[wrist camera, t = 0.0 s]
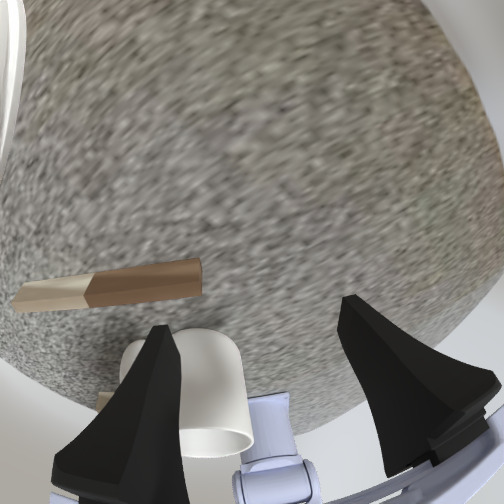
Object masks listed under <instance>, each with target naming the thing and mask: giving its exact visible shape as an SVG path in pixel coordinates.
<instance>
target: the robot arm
mask: <svg viewBox="0 0 504 504" xmlns="http://www.w3.org/2000/svg"><path fill="white" fill-rule="evenodd" d="M337 332H338V335H339V338H340V341H341V344H342V347H343V350H344V352H345V354H346V356H347V358H348V360H349V362H350V364H351V366H352V368H353V370H354V372H355V374H356V376H357V378H358V380H359V382H360V384H361V386H362V388H363V391H364V393H365V395H366V398H367V401H368V404H369V407H370V409H371V413H372V416H373V419H374V423H375V426H376V430H377V434H378V438H379V441H380V446H381V451H382V457H383V463H384V470H385V473H386V476H387V478H390V477H392V476H394V475H397V474H399V473H401V472H403V471H405V470H407V469H409V468H411V467H413V469H411V470H409V471H407V472H405V473H403V474H401V475H399V476H397V477H395V478H393V479H390V480H388V481H386V482H384V483H381V484H379V485H377V486H374V487H372V488H369V489H367V490H364V491H361V492H359V493H356V494H353V495H350V496H347V497H344V498H341V499H338V500H335V501H331V502H328V503H325V504H369V503H371V502H374V501H376V500H378V499H381V498H383V497H386V496H388V495H390V494H392V493H394V492H396V491H398V490H400V489H403V490H402V493H401V494H400V495H399V496H396V497H393V498H391V499H389V500H386V501H384V502H382V503H379V504H465V503H466V502H467V501H468V500H469V499H470V498H471V497H472V496H473V495H474V494H476V493H477V492H478V491H479V490H480V489H481V488H482V487H483V486H484V485H485V483H487V482H488V481H489V479H490V478H491V477H492V476H493V475H494V474H495V473H496V472H497V471H498V470H499V468H500V467H501V466H502V465H503V464H504V404H503V405H502V406H501V407H500V408H499V409H498V410H497V411H496V412H494V413H493V414H492V415H491V416H489V417H488V418H487V419H486V420H485V418H484V415H485V414H486V411H485V409H484V406H485V405H486V404H487V403H488V402H489V401H490V400H491V399H492V398H493V397H494V396H495V395H496V394H497V393H498V392H499V390H500V389H501V386H502V385H501V383H500V382H499V380H498V379H497V377H496V376H495V374H494V373H493V371H491V370H487V369H482V368H479V367H475V366H471V365H469V364H466V363H463V362H460V361H458V360H455V359H453V358H451V357H448V356H446V355H444V354H442V353H440V352H438V351H436V350H434V349H432V348H430V347H428V346H427V345H425V344H423V343H421V342H420V341H418V340H416V339H415V338H413V337H412V336H410V335H409V334H407V333H406V332H404V331H403V330H401V329H400V328H399V327H397V326H396V325H394V324H393V323H392V322H390V321H389V320H388V319H387V318H385V317H384V316H383V315H381V314H380V313H379V312H378V311H376V310H375V309H374V308H372V307H371V306H370V305H369V304H367V303H366V302H365V301H364V300H362V299H361V298H360V297H358V296H357V295H356V294H355V295H350V296H346V297H343V298H342V304H341V310H340V316H339V322H338V327H337ZM181 381H182V373H181V355H180V353H179V351H178V348H177V346H176V344H175V341H174V339H173V337H172V334H171V332H170V329H169V327H168V325H158V326H153V327H152V329H151V331H150V333H149V335H148V336H147V338H146V340H145V342H144V344H143V346H142V348H141V350H140V352H139V353H138V355H137V357H136V359H135V361H134V362H133V364H132V366H131V368H130V369H129V371H128V373H127V374H126V376H125V377H124V379H123V381H122V382H121V384H120V386H119V387H118V389H117V390H116V391H115V393H114V394H113V396H112V397H111V399H110V400H109V401H108V403H107V404H106V405H105V406H104V408H103V409H102V410H101V411H100V413H99V414H98V415H97V416H96V417H95V419H94V420H93V421H92V422H91V423H90V424H89V425H88V426H87V427H86V428H85V429H84V430H83V431H82V432H81V433H80V434H79V435H78V436H77V437H76V438H75V439H74V440H73V441H72V442H70V443H69V444H68V445H67V446H65V447H64V448H63V449H62V450H60V451H59V452H58V453H57V454H55V457H54V463H53V469H52V477H51V482H52V484H53V485H55V486H56V487H58V488H61V489H63V490H65V491H68V492H70V493H72V494H75V495H78V496H79V501H77V500H74V499H71V498H68V497H65V496H62V495H59V494H56V493H54V492H51V493H50V504H190V502H189V498H188V493H187V489H186V484H185V478H184V472H183V465H182V457H181V448H180V437H179V414H180V397H181ZM247 400H248V406H249V412H250V418H251V424H252V430H253V436H254V443H253V445H252V446H251V447H250V448H249V449H247V450H245V451H243V452H240V455H241V462H242V465H240V468H241V471H240V470H239V471H236V472H235V473H234V475H233V476H232V486H233V493H234V498H235V502H236V504H299V503H303V502H306V503H305V504H322V499H321V495H320V484H319V479H318V475H317V472H316V469H315V467H314V465H313V463H312V462H310V461H308V460H307V459H304V460H302V457H301V455H298V452H297V448H296V444H295V440H294V436H293V432H292V428H291V424H290V421H289V417H288V410H289V393H288V392H285V393H280V394H274V395H269V396H263V397H257V398H250V399H247Z"/></svg>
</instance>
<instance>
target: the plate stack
mask: <svg viewBox="0 0 504 504" xmlns="http://www.w3.org/2000/svg"><path fill="white" fill-rule="evenodd" d="M25 51H26V16H25V9H24V4H23V1H22V0H0V184H1V181H2V178H3V175H4V171H5V168H6V164H7V160H8V156H9V152H10V147H11V143H12V138H13V134H14V129H15V123H16V118H17V112H18V107H19V101H20V94H21V87H22V80H23V72H24V62H25Z"/></svg>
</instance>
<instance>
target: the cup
mask: <svg viewBox="0 0 504 504" xmlns="http://www.w3.org/2000/svg"><path fill="white" fill-rule="evenodd" d="M172 337H173V339H174V341H175V344H176V346H177V348H178V351H179V353H180V355H181V373H182V381H181V397H180V414H179V437H180V448H181V456H184V457H192V458H215V457H224V456H230V455H234V454H237V453H240V452H243V451H245V450H247V449H249V448H250V447H251V446H252V445H253V443H254V436H253V430H252V424H251V418H250V412H249V406H248V400H247V394H246V387H245V381H244V374H243V368H242V361H241V356H240V352H239V349H238V347H237V346H236V344H235V343H234V342H233V341H232V340H231V339H230V338H229V337H227V336H226V335H224V334H222V333H220V332H217V331H214V330H210V329H204V328H190V329H184V330H181V331H178V332H175V333H173V334H172ZM144 342H145V340H143V339H142V340H136V341H134V342H132V343H131V344H130V345H129V346H128V347H127V348H126V350H125V352H124V354H123V356H122V360H121V364H120V384H121V382H122V381H123V379H124V377H125V376H126V374H127V373H128V371H129V369H130V368H131V366H132V364H133V362H134V361H135V359H136V357H137V355H138V353H139V352H140V350H141V348H142V346H143V344H144Z"/></svg>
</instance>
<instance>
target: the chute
mask: <svg viewBox="0 0 504 504" xmlns="http://www.w3.org/2000/svg"><path fill="white" fill-rule="evenodd" d="M200 295H202V267H201V262H200V258H193V259H186V260H179V261H172V262H165V263H158V264H151V265H144V266H137V267H130V268H123V269H117V270H110V271H103V272H96V273H89V274H82V275H75V276H68V277H62V278H55V279H48V280H41V281H34V282H27V283H24V284H23V286H22V287H21V288H20V290H19V291H18V293H17V294H16V296H15V297H14V299H13V300H12V302H11V304H12V305H13V307H14V309H15V310H16V312H17V313H24V312H41V311H55V310H69V309H81V308H93V307H104V306H114V305H124V304H134V303H143V302H152V301H160V300H169V299H177V298H185V297H193V296H200ZM114 393H115V392H99V395H98V399H97V404H96V409H95V410H96V411H97V412H98V413H100V411H101V410H102V409H103V408H104V406H105V405H106V404H107V403H108V401H109V400H110V399H111V397H112V396H113V394H114Z"/></svg>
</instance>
